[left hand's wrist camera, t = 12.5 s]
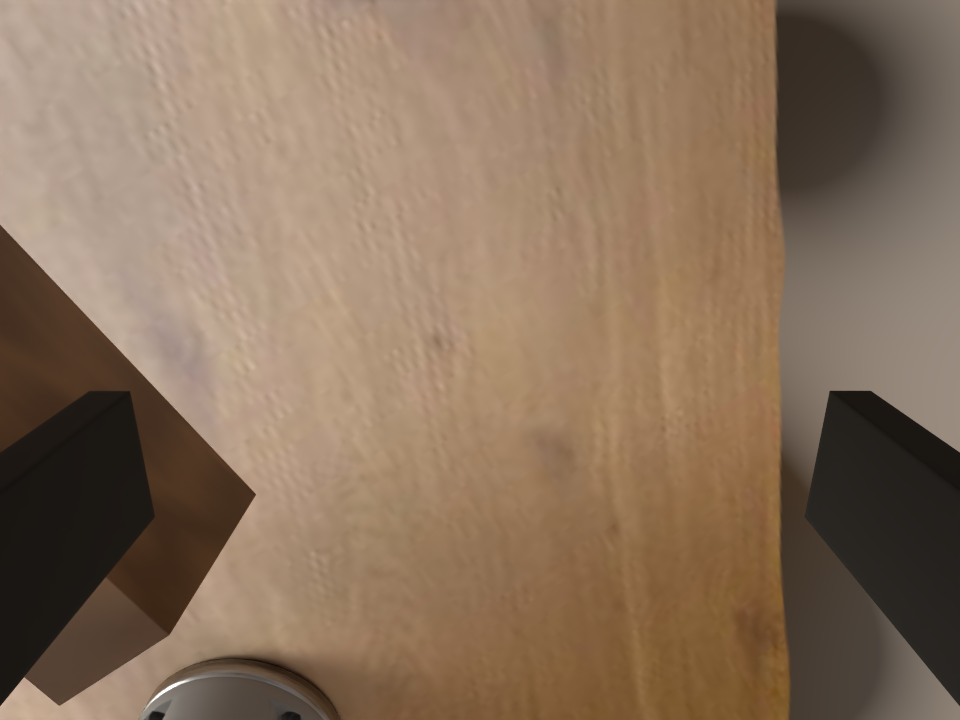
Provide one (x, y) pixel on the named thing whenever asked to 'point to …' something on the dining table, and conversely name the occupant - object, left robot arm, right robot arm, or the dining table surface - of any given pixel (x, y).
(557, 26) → the dining table surface
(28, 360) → the bar
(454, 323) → the dining table surface
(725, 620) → the dining table surface
